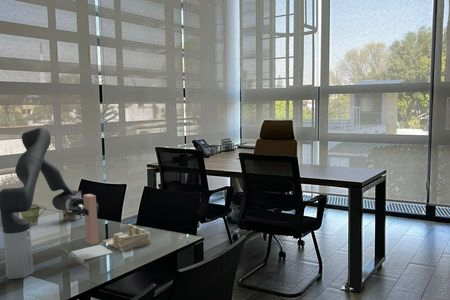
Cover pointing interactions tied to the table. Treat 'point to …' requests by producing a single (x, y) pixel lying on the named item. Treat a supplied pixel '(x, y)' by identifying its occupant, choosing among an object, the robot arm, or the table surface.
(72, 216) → the coffee box
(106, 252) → the mat
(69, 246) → the table surface
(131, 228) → the rack
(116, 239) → the offcut stack
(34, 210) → the ceramic cup
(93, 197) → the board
